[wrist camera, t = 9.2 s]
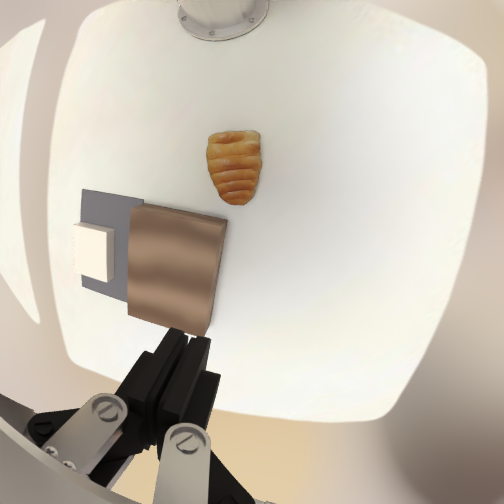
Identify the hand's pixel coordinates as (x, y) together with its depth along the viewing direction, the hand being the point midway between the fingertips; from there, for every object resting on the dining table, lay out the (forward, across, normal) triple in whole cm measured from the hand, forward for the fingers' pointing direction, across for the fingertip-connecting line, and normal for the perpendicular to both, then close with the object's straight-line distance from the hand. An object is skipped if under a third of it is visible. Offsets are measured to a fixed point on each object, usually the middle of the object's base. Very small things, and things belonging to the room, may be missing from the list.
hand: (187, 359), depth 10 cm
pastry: (+27, +4, -7) cm, 28 cm away
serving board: (+26, +9, +9) cm, 29 cm away
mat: (+26, +21, +9) cm, 35 cm away
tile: (+24, +23, +10) cm, 35 cm away
